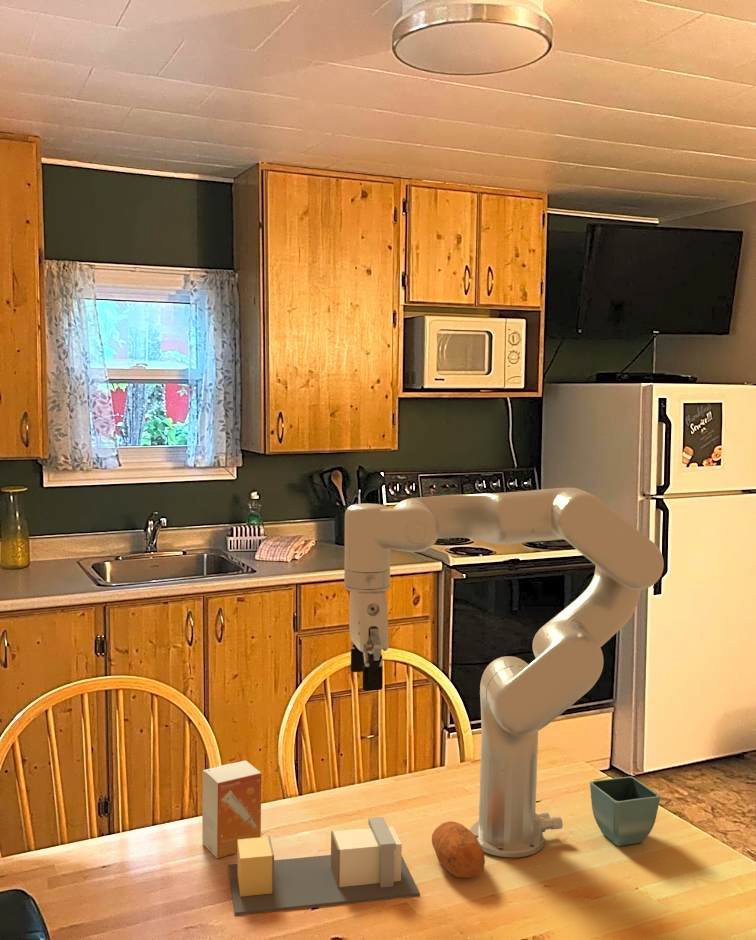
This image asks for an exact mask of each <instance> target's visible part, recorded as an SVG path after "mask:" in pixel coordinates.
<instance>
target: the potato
mask: <svg viewBox="0 0 756 940" xmlns="http://www.w3.org/2000/svg"><path fill="white" fill-rule="evenodd" d="M431 844H432V847H433V850H434V851H435V855H436V858H437V861H438V862H439V863H440V865H441V866H443V867H444V868H445V869H446V870H447V871H449V873H451V874H453V875H454V876H455V877H457V878H473V877H477V876H478V875H479V874H480V873H481V872H482V871H484V868H485V862H486V860H485V858H486V857H485V852H483V849H482V847H481V845H480V844H479V842H478V840H477V838H476V837H475V835H474V834H473V833H472V832H471V831H470V828H469V829H468V828H467V827H466V826H465V825H464V824H462V823H460V822H456V821H445V822H442V823H441V824H440V825H439V826H437V827H436V828H435V829H434V831H433V832H432V834H431Z"/></svg>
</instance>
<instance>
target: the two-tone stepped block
mask: <svg viewBox="0 0 756 940" xmlns="http://www.w3.org/2000/svg"><path fill="white" fill-rule="evenodd" d="M367 822H368V823H367V824H368V826H369V828H367V827H366V828H357V829H356V828H355V829H347V830H346V829H344V830H331V831H330V838H331V839H330V855H331V869H332V872H333V875H334V878H335V881H336V884H337V887H345V886H355V885H365V884H374V883H379V884H380V886H381V887H390V886H394V881H401V855H402V848H403V847H402V842H401V840H400V838H399V836H398V834H397V832H396V830H395V828H394V826H393V825H390V826H388V824H387V822H386V820H385V818H384V816H377V817H376V816H375V817H368V821H367Z"/></svg>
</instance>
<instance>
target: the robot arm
mask: <svg viewBox="0 0 756 940" xmlns="http://www.w3.org/2000/svg"><path fill="white" fill-rule="evenodd" d="M344 512H345V513H344V569H343V570H344V573H343V574H344V577H343V580H344V583H343V585H344V587H343V588H344V589H345V590H347V591H349V609H348V610H349V611H348V613H349V615H348V618H349V619H348V622H349V623H348V626H349V627H348V629H349V637H350V639H351V642H350V645H351V648H350V671H351V673H362V685H361V686H362V690H363V691H365V692H370V691H381V690H383V685H384V684H383V681H384V680H383V677H384V675H383V672H384V666H383V665H384V662H383V654H382V651H384V652H386V651H388V649H389V647H390V646H389V617H388V616H389V615H388V614H389V613H388V601H387V600H388V599H387V592H386V591H389V590H390V589H391V584H390V583H391V550H395V551H401V552H408V553H420V552H424V551H427V550H429V549H430V548H431V547H432V546H434V545H435V544H436V542H437V540H438V539H456V538H458V539H459V538H461V539H462V538H463V539H471V540H476V541H477V540H478V541H481V542H484V543H488V544H493V545H512V544H522V543H523V544H524V543H531V542H544V541H545V542H547V541H558V540H565V541H566V543H569V544H570V546H572V547H573V548H574V549H575V550H577V551H578V553H580V554H581V555H582V556H583V557H584V558H586V559H587V560H588V561H590V562H591V563H592V564H593V565H594V566H595V569H594V573H593V574H594V575H593V577H592V579H591V582H590V583H589V585H588V586H587V588H586V589H585V590H584V591H583V592H582V593H581V594H579V596H578V597H576V599H574V600H573V601H572V602H571V603H570V604H569V605H567V606H566V607H564V609H563V610H561V611H560V612H559V613H557V614H556V615H555V616H554V617H552V618H551V619H550V620H549V621H547V622H546V623H545V624H544V625H543V626H542V627H540V628H539V629H538V630H537V632H536V633H535V635H534V637H533V640H532V645H531V646H532V653H533V655H534V659H533V660H532V661H531V662H530V663H527V662H526V661H525V660H523V659H522V658H519V657H517V656H512V655H510V656H509V655H508V656H500V657H498V658H496V659H494V660H493V661H491V662H490V663H489V664H488V665H487V666H486V668H485V669H484V671H483V673H482V676H481V680H480V685H479V688H480V689H479V695H480V696H479V697H480V698H479V699H480V701H479V702H480V719H481V720H480V721H481V723H480V724H481V725H480V726H481V733H480V735H481V738H480V771H479V774H480V776H479V806H478V807H479V808H478V809H479V810H478V811H479V812H478V821H477V822H475V823H473V825H472V826H471V827H469V830H470V831H471V832H472V833H473V834H474V835H475V837H476V838H477V840H478V842H479V844H480V845H481V847H482V849H483V853H484V854H488V855H492V856H495V857H500V858H511V859H512V858H524V857H528V856H532V855H534V854H536V853H537V852H539V851H541V849H542V848H543V847H544V843H545V836H544V833H545V832H546V830H551V831H552V830H561V829H563V819H562V818H561V817H560V816H557V817H555V816H553V817H551V816H550V814H549V812H541V813H537V812H536V806H537V779H538V778H537V777H538V755H539V753H538V752H539V731H541V730H543V729H544V728H546V727H547V726H548V725H549V724H551V723H552V722H553V721H554V720H555V719H557V718H559V716H561V715H562V714H563V713H564V712H565V711H566V710H568V709H569V708H571V706H572V705H574V704H575V703H576V702H577V701H579V700H580V699H581V698H582V697H583V696H585V695H586V694H587V693H588V692H589V691H590V690H591V689H593V687H594V686H595V684H596V683H597V682H598V680H599V679H600V677H601V674H602V672H603V669H604V654H603V650H602V648H601V647H603V646H604V645H605V644H606V643H607V642H608V641H610V640H611V639H612V637H614V636H615V634H617V633H618V632H619V631H620V630H621V629H622V628H623V627H624V626H625V625H626V624H627V623H628V621H629V620H630V619H631V618H632V617H633V615H634V613H635V611H636V608H637V606H638V603H639V600H640V596H641V593H642V590H646V589H649V588H651V587H652V586H653V585H655V584H656V583H657V582H658V581H659V580H660V578H661V577H662V574H663V573H664V568H665V567H664V566H665V565H664V557H663V554H662V552H661V549H660V548H659V547H658V546H657V544H655V543H654V542H653V541H652V540H651V539H650V538H648V537H647V536H646V535H644V534H643V533H642V532H641V531H640V530H638V529H637V528H635V527H634V526H633V525H632V524H630V523H629V522H628V521H626V519H624V518H623V517H622V516H620V515H619V514H618V513H616V512H615V511H614V510H613V509H612V508H611V507H609V506H608V505H607V504H606V503H605V502H603V501H602V500H601V499H600V498H598V497H596V495H593V493H592V494H591V493H590V492H587V491H585V490H583V489H581V488H578V487H555V488H542V489H532V490H522V491H521V490H520V491H508V492H493V493H491V492H489V493H488V492H487V493H486V492H485V493H473V494H470V493H469V494H449V495H448V494H446V495H434V496H420V497H419V496H418V497H411V498H407V499H403V500H401V501H400V502H397V504H396V505H395V506H394V507H393V508H389V507H388V506H386V505H384V504H380V503H370V502H369V503H368V502H367V503H354V504H351V505H350V506H348V507H347V509H346V510H345V511H344Z"/></svg>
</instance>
